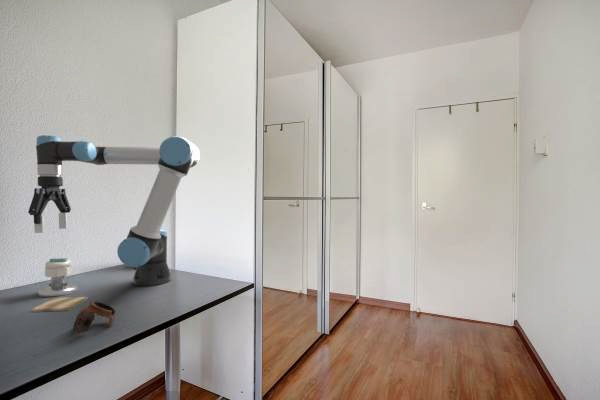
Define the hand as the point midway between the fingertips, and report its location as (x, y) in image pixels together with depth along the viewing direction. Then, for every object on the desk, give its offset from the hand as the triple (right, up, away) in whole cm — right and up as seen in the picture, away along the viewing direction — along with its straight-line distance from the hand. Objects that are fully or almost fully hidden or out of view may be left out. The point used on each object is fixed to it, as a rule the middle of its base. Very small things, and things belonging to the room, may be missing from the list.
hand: (52, 230), depth 117 cm
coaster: (+14, -25, -13) cm, 31 cm away
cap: (+2, -17, +1) cm, 17 cm away
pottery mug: (+37, -26, -31) cm, 54 cm away
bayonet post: (+2, -24, +1) cm, 24 cm away
